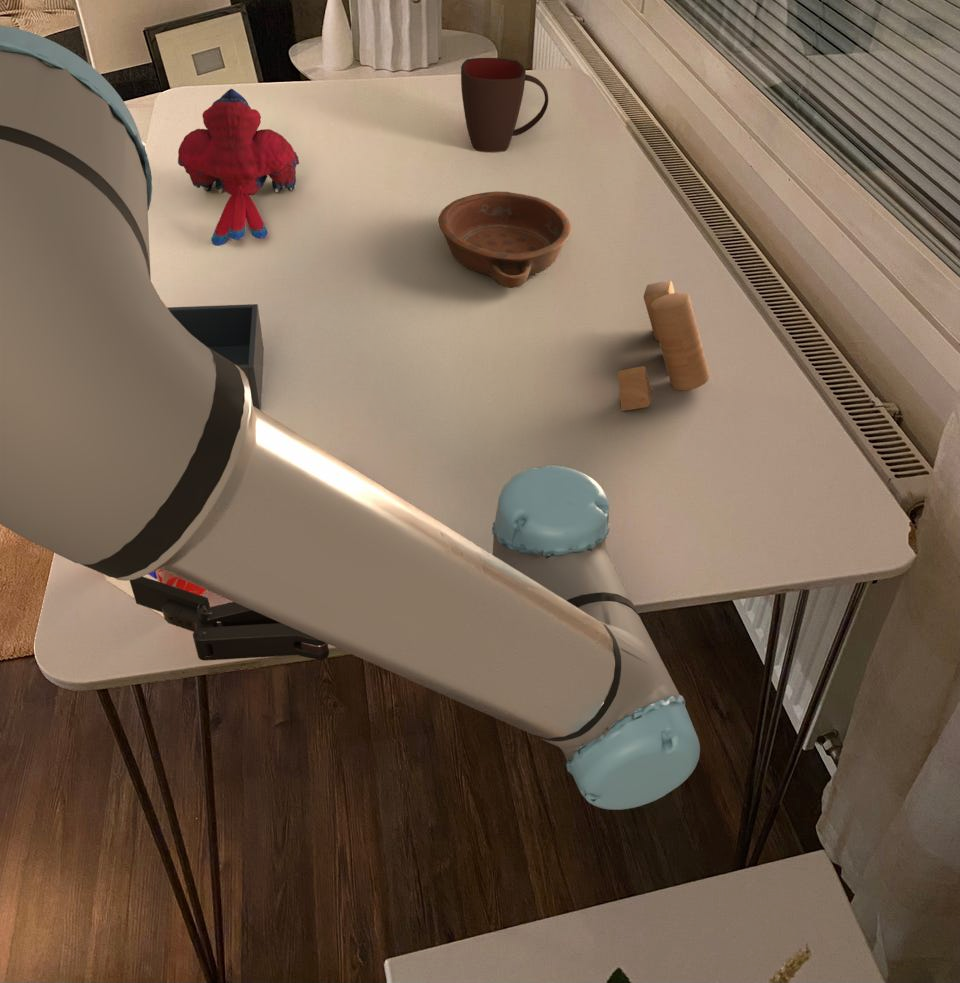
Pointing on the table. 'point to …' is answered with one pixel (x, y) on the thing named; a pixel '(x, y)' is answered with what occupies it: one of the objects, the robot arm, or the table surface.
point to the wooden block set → (667, 347)
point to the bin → (229, 337)
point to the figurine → (237, 163)
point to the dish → (504, 234)
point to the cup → (495, 101)
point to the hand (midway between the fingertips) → (184, 532)
